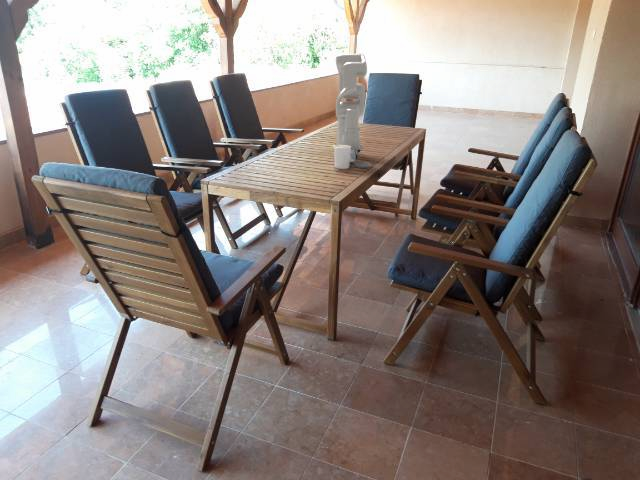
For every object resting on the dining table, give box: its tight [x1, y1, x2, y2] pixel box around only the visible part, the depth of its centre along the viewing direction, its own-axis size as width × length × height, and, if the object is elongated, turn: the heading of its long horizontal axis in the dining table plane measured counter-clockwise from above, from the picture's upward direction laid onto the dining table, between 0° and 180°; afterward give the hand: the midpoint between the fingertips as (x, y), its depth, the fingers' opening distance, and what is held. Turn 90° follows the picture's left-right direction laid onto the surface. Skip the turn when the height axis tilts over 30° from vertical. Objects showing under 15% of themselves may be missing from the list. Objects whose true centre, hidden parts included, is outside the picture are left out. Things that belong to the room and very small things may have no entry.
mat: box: [352, 161, 374, 169], centre depth 280 cm, size 10×9×1 cm
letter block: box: [350, 151, 357, 164], centre depth 286 cm, size 5×5×5 cm
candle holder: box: [333, 144, 351, 170], centre depth 273 cm, size 10×10×12 cm
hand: (350, 160), depth 287 cm, fingers closed on letter block, 5 cm apart
